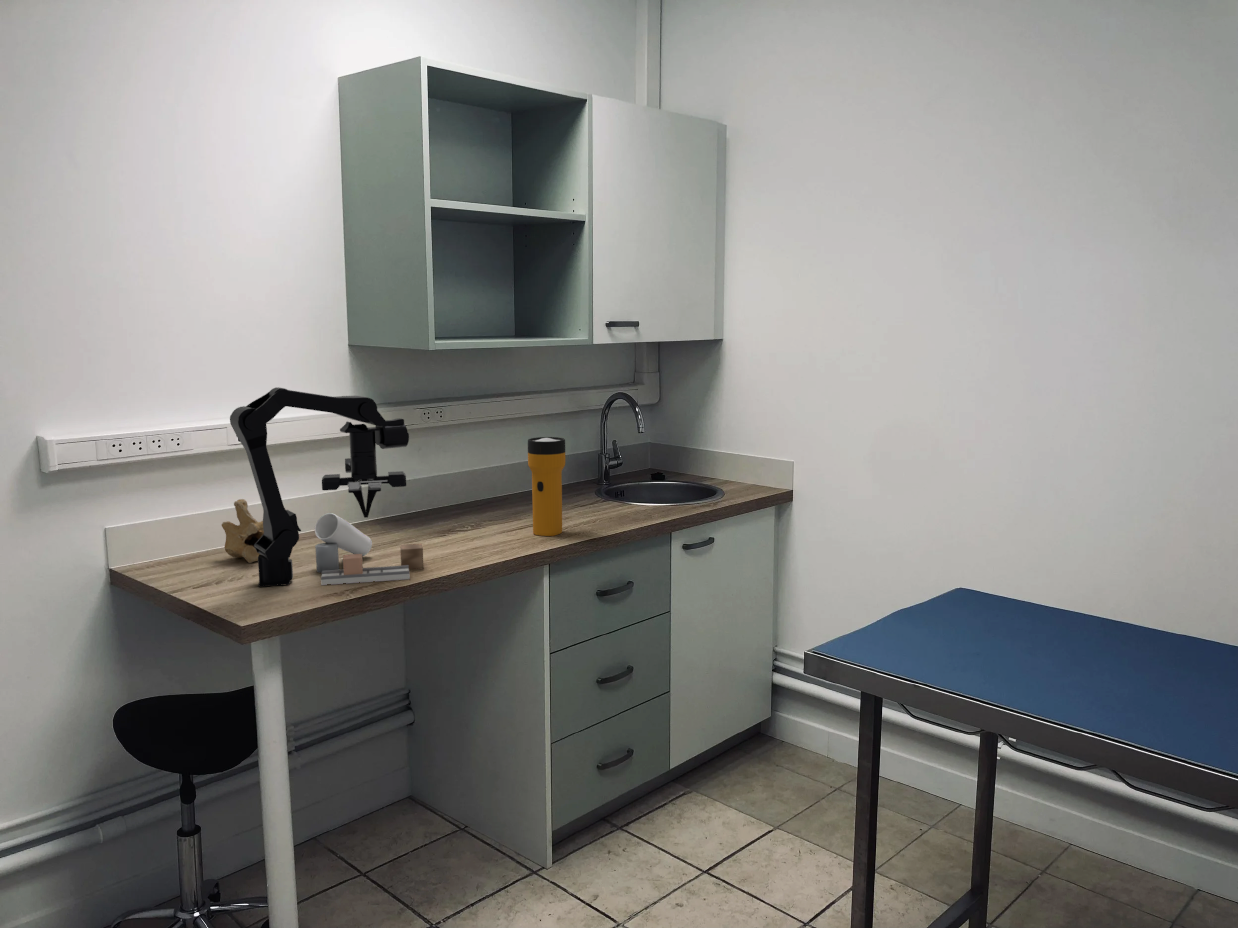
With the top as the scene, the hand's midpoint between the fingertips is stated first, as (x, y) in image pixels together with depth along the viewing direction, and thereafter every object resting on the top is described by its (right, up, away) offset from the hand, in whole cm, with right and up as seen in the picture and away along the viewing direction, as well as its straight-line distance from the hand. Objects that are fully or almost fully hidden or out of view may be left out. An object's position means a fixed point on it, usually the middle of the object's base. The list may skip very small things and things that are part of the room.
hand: (366, 517), depth 226 cm
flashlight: (+40, -7, +36) cm, 54 cm away
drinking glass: (-4, -8, +12) cm, 15 cm away
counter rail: (+1, -13, -8) cm, 16 cm away
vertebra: (-31, -11, +9) cm, 34 cm away
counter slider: (-1, -12, -9) cm, 15 cm away
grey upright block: (-9, -12, 0) cm, 15 cm away
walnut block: (+10, -12, +2) cm, 16 cm away
